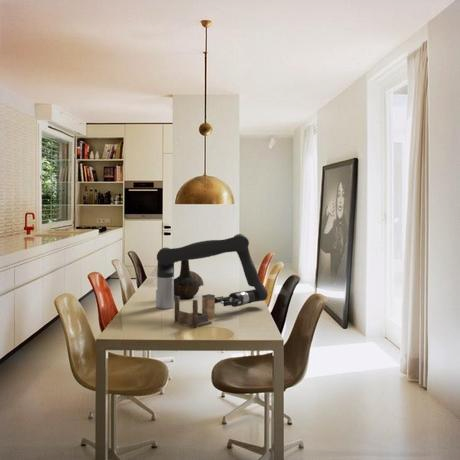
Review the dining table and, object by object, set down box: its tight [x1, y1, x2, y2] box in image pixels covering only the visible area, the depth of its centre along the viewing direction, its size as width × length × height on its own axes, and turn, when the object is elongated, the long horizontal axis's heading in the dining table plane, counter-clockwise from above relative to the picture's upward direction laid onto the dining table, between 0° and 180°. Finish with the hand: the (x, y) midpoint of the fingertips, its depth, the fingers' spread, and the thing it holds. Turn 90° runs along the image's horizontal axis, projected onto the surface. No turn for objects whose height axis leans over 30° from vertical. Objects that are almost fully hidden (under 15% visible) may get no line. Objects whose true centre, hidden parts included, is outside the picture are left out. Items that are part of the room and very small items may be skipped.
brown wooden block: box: [201, 293, 216, 321], centre depth 275 cm, size 4×5×12 cm
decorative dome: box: [190, 270, 205, 288], centre depth 376 cm, size 19×20×10 cm
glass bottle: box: [174, 260, 200, 299], centre depth 331 cm, size 18×18×28 cm
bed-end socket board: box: [173, 295, 213, 329], centre depth 264 cm, size 15×12×13 cm
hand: (217, 303), depth 280 cm, fingers open, 8 cm apart
